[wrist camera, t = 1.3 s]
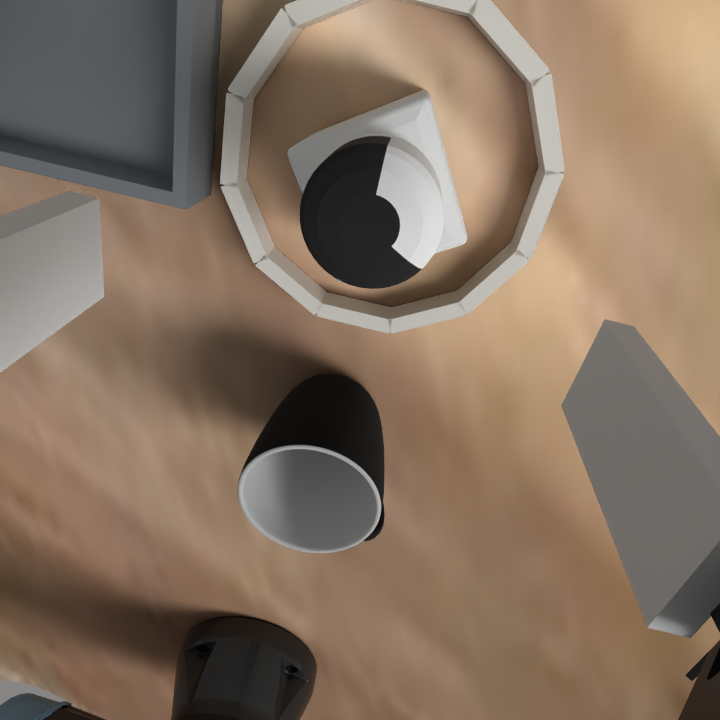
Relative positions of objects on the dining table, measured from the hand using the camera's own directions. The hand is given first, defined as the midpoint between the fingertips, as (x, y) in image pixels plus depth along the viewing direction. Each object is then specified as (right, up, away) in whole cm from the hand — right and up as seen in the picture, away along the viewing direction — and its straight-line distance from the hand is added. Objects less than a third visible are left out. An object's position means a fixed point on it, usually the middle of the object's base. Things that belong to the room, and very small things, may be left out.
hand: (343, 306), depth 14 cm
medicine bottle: (+2, +10, +18) cm, 21 cm away
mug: (-1, -6, +28) cm, 28 cm away
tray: (-14, +16, +16) cm, 27 cm away
